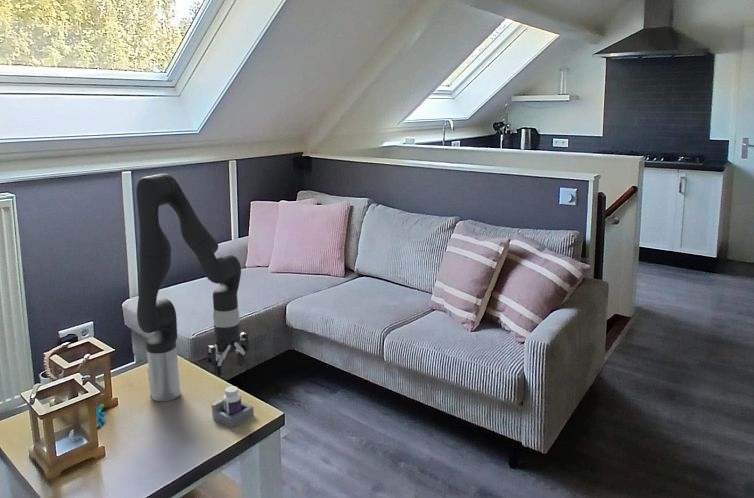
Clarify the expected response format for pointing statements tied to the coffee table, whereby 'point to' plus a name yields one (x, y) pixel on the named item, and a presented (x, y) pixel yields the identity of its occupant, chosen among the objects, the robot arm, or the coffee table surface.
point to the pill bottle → (232, 401)
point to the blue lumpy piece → (100, 415)
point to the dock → (227, 419)
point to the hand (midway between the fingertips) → (229, 370)
